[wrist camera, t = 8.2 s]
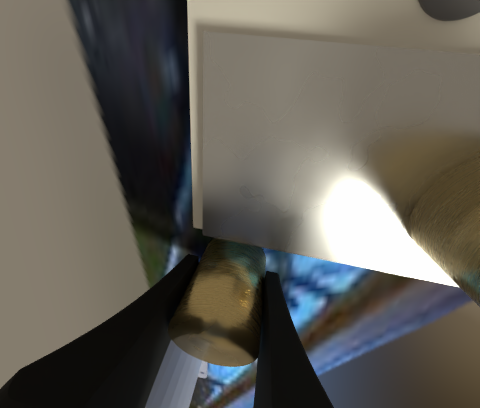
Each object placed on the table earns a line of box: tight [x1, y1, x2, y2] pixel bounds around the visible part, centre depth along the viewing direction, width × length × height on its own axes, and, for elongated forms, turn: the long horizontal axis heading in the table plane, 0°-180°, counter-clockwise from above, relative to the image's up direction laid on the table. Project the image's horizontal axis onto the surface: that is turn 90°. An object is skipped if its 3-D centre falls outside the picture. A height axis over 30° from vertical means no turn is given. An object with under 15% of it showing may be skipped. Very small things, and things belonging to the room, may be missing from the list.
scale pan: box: [202, 31, 480, 287], centre depth 6 cm, size 7×12×1 cm, turn 84°
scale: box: [187, 0, 480, 229], centre depth 7 cm, size 10×13×2 cm
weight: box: [168, 238, 266, 367], centre depth 10 cm, size 4×4×5 cm
